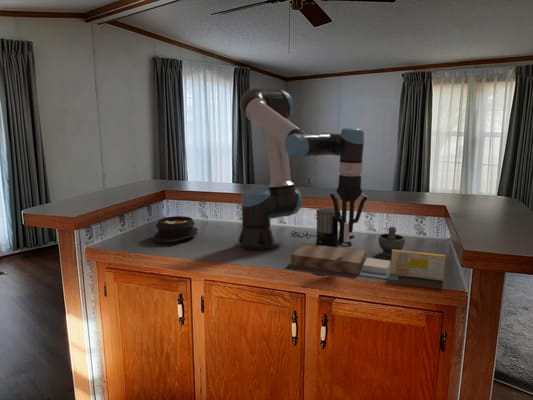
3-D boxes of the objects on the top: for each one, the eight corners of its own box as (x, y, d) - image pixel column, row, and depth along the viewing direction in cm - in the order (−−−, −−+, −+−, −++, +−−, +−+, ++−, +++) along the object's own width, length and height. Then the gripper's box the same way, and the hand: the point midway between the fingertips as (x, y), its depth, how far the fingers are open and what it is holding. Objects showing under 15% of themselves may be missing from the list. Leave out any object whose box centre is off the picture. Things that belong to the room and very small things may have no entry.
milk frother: (311, 246, 158) (312, 211, 155) (325, 236, 171) (326, 204, 168) (345, 251, 151) (346, 215, 148) (356, 241, 164) (358, 207, 161)
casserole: (180, 248, 156) (179, 228, 155) (141, 244, 162) (140, 225, 160) (207, 232, 180) (206, 215, 178) (172, 229, 185) (171, 212, 184)
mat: (359, 275, 126) (359, 274, 126) (366, 260, 141) (366, 259, 141) (398, 280, 122) (398, 279, 122) (400, 264, 136) (401, 263, 136)
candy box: (442, 279, 123) (445, 254, 121) (443, 281, 121) (446, 256, 119) (389, 272, 128) (392, 248, 126) (389, 274, 126) (392, 250, 124)
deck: (291, 265, 136) (291, 254, 135) (302, 253, 149) (302, 243, 148) (359, 274, 127) (359, 263, 127) (365, 261, 140) (365, 250, 139)
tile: (362, 270, 130) (363, 265, 129) (366, 263, 137) (367, 257, 136) (387, 274, 126) (387, 268, 126) (390, 266, 134) (390, 260, 133)
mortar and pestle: (378, 249, 154) (380, 220, 151) (403, 251, 151) (405, 221, 149) (377, 258, 143) (379, 227, 141) (403, 260, 140) (406, 229, 138)
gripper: (328, 174, 129) (325, 241, 134) (368, 177, 124) (363, 246, 129) (333, 172, 135) (330, 235, 140) (371, 174, 131) (366, 240, 136)
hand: (346, 240), depth 135 cm, fingers closed
